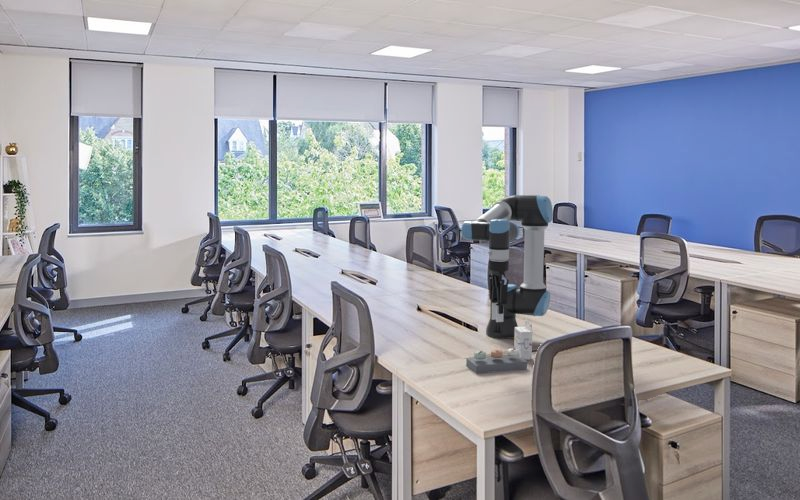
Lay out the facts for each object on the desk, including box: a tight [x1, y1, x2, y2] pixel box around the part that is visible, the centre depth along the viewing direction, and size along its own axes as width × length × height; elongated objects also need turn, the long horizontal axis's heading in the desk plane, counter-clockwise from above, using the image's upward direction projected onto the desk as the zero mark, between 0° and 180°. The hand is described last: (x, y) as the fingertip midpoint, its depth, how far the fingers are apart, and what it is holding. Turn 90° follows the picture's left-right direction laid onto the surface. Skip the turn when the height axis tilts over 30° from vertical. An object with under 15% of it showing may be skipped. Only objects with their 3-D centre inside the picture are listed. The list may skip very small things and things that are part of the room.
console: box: [465, 354, 528, 374], centre depth 245 cm, size 21×10×3 cm, turn 105°
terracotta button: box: [490, 349, 504, 358], centre depth 245 cm, size 4×4×2 cm
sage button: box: [473, 350, 487, 360], centre depth 243 cm, size 4×4×2 cm
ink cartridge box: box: [513, 319, 533, 361], centre depth 259 cm, size 9×5×15 cm, turn 9°
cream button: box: [507, 348, 519, 357], centre depth 247 cm, size 4×4×2 cm
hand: (497, 320), depth 243 cm, fingers open, 3 cm apart
